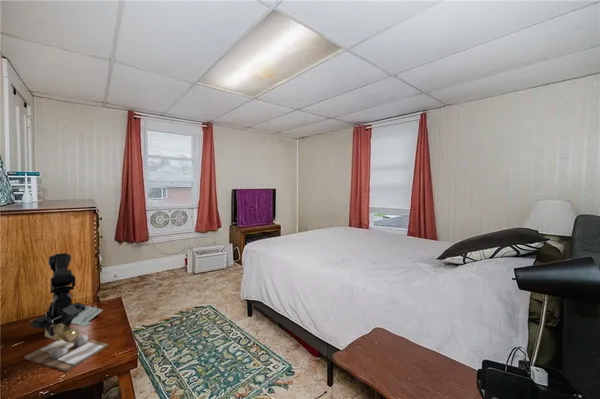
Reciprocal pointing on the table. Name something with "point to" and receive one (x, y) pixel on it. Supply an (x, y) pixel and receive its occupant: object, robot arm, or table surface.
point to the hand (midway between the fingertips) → (59, 332)
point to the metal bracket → (86, 316)
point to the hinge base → (66, 353)
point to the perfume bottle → (63, 333)
